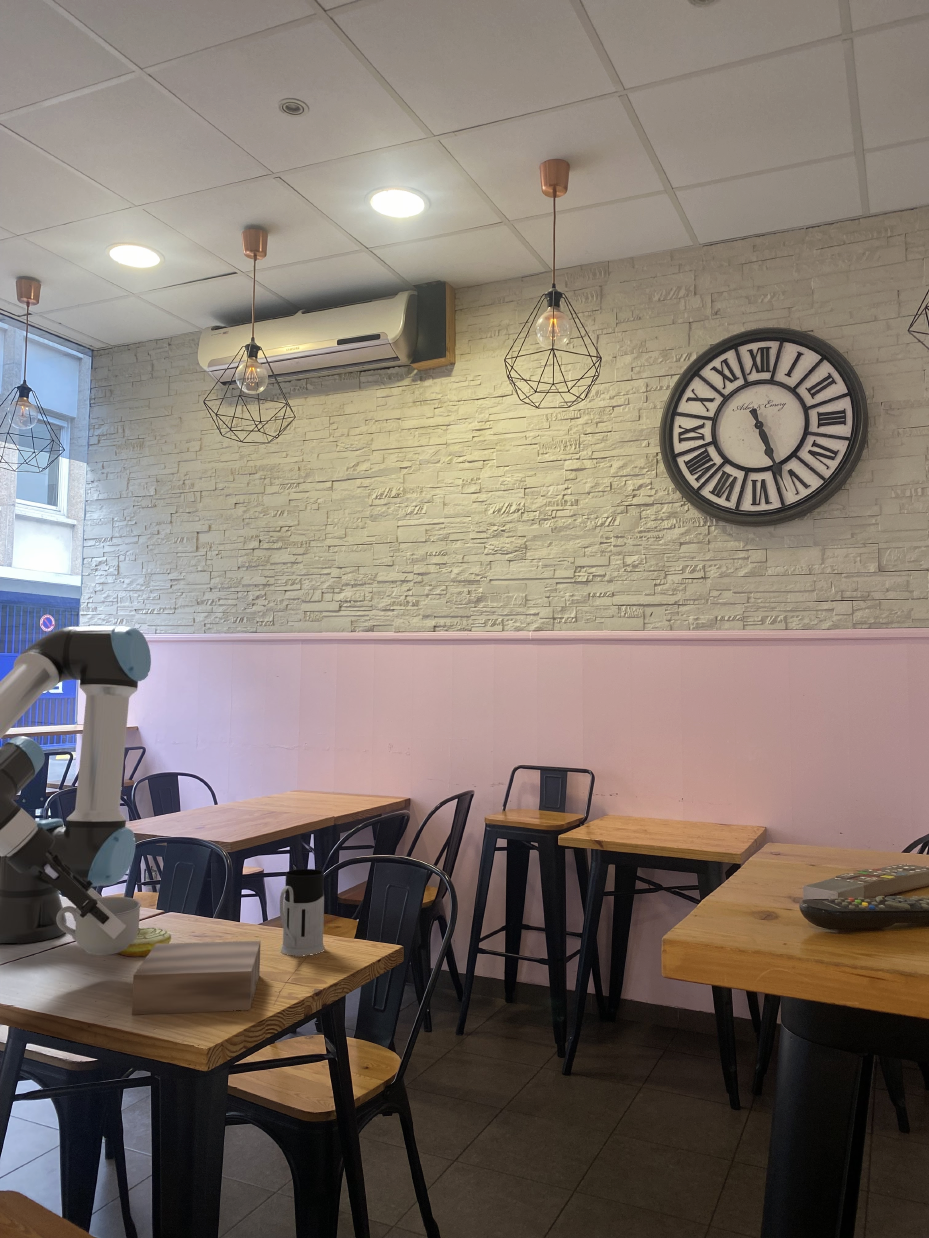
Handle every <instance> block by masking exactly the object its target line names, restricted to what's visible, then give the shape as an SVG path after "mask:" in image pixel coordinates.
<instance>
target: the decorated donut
mask: <svg viewBox="0 0 929 1238" xmlns="http://www.w3.org/2000/svg"><path fill="white" fill-rule="evenodd" d="M171 940H172V934H171V932H169V931H168V930H166V929H163V928H160V927H139V929H138V934H137V937H136V939H135V940H134V941H133V942H132V943H131V944H130V945H129V946H128V947H127V948H126V949H124V950H123V951H121V952H118V953H117V954H119V955H122V956H126V957H147V956H148V954H149V953H150V952H151V950H152V949H153V948H154V946H155V945H156V944H163V943H171Z"/></svg>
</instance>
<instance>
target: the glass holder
mask: <svg viewBox="0 0 929 1238" xmlns="http://www.w3.org/2000/svg"><path fill="white" fill-rule="evenodd" d="M324 873H325V872H324V871H323V870H321V869H316V868H300V869H299V868H297V869H292V870H291V869H290V870H288V871H286V872H285V886H284V887H283V888H282V890H281V892H280V896H279V915H280V916H279V917H280V922H281V926H282V945H281V947H280V950H279V951H281V952H282V953H283V954H282V953H281V952H280V953H281V954H282V955H284V954H288V955H293V956H292V957H304V956H303V955H310V954H316V953H319V952H321V951H323V950H324V949H325V950H326V948H325V945H324V916H325V892H324V880H325V879H324V878H325V877H324V876H325V874H324ZM288 955H287V956H288ZM294 955H295V956H294Z"/></svg>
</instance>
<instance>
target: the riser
mask: <svg viewBox="0 0 929 1238" xmlns="http://www.w3.org/2000/svg"><path fill="white" fill-rule="evenodd" d="M260 965H261V940H244V941H241V940H240V941H239V940H238V941H237V940H236V941H205V942H201V941H200V942H173V943H172V942H169V943H163V944H156V945H155V946H154V948H153V949H152V950H151V952H150V953H149V954H148V956H145V958H144V960H143V962H141V964H140V965H139V967H138V968H137V970H135V972H134V973H133V981H132V982H133V983H132V1001H131V1002H132V1003H131V1015H132V1016H133V1015H135V1016H136V1015H138V1016H139V1015H158V1014H159V1015H160V1014H161V1015H162V1014H163V1015H164V1014H184V1013H186V1014H187V1013H189V1014H190V1013H208V1012H211V1013H212V1012H213V1013H214V1012H236V1010H241V1011H251V1009H252V1005H253V1000H254V997H255V993H256V990H257V986H258V982H259V978H260V972H261V968H260ZM233 1010H234V1011H233Z"/></svg>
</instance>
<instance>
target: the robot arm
mask: <svg viewBox="0 0 929 1238" xmlns="http://www.w3.org/2000/svg"><path fill="white" fill-rule="evenodd" d="M151 655H152V654H151V649H150V646H149V643H148V641H147V638H146V637H145V635H144V634H143V633H142V632H141V630H139V629H137V628H136V627H131V626H121V625H115V626H114V625H113V626H109V625H108V626H107V625H106V626H105V625H104V626H103V625H101V626H97V625H96V626H80V625H79V626H78V625H77V626H68V627H63V628H60V629H57V630H55V631H52V632H50V633H48V634H46V635H44V636H43V637H41V638H39V639H38V640H36V641H35V642H33V643H32V644H30V646H28V647H27V648H26V649H24V651H22V652H21V653H20V654H19V655H18V656H17V657H16V658H15V660H14V662H13V668H12V669H11V670H10V671H9V672H8V673H7V674H6V675H5V676H4V677H2V679H1V680H0V740H1V739H2V738H3V737H4V736H5V735H6V734H7V733H8V731H9V730H10V729H11V728H12V727H13V726H14V725H15V724H16V723H17V721H19V720H20V719H21V717H22V716H23V715H24V714H25V713H26V712H27V711H28V710H29V709H30V708H31V707H32V705H33V704H34V703H35V702H36V701H37V700H38V699H39V698H40V697H41V696H42V694H43V693H44V692H49V691H51V690H53V689H55V688H56V687H57V685H59V684H60V683H62V682H65V681H72V680H73V681H74V680H76V681H79V689H80V690H81V691H82V692H83V693H84V694H85V706H84V717H83V725H82V726H83V727H82V737H81V746H80V747H81V748H80V758H79V765H78V766H79V767H78V776H77V777H78V778H77V786H76V787H77V788H76V798H75V809H74V810H73V812H72V813H71V814H69V816H68V817H66V819H65V820H66V821H65V823H64V821H63V819H62V818H48V819H41V820H40V819H39V820H35V819H34V818H33V817H32V815H30V814H29V813H28V812H27V811H26V810H24V809H23V808H22V807H21V806H20V805H19V804H17V803H16V802H15V801H14V798H15V797H17V795H18V794H19V793H20V792H21V791H22V790H23V789H24V788H25V787H26V786H27V784H29V783H30V781H31V780H33V779H34V778H35V777H36V775H37V773H39V771H40V770H41V768H42V767H43V766H44V763H45V759H46V757H45V752H44V749H43V747H42V746H41V745H40V744H39V743H38V742H37V741H36V740H34V739H32V738H30V737H27V736H20V735H19V736H14V737H13V738H11V739H9V740H8V741H6V742H5V743H4V744H3V746H0V944H1V943H17V944H25V943H26V944H28V943H35V942H37V943H38V942H41V941H42V942H43V941H47V940H51V939H54V938H57V937H60V936H62V935H64V934H65V933H66V932H64V931H63V930H61V929H60V928H59V926H58V925H57V921H56V917H57V914H58V912H59V911H60V910H61V909H62V908H64V907H63V904H62V899H61V895H63V896H64V897H65V898H66V899H67V900H68V901H69V902H71V903H72V904H73V905H74V907H75V908H76V907H77V908H78V909H79V910H80V911H81V914H80V916H81V917H82V918H84V917H85V916H86V915H87V916H88V917H89V918H90V919H91V920H93V921H94V922H95V923H96V924H97V925H98V926H99V927H101V928H102V929H103V930H104V931H105V932H106V933H107V934H109V935H110V936H111V937H112V938H113V939H115V938H116V937H117V936H118V934H119V933H120V932H121V931H122V930H123V929H124V928H125V927H126V925H125V924H124V923H122V922H121V921H120V920H119V919H118V918H117V917H116V916H114V915H113V914H112V913H111V912H110V911H109V910H108V909H107V908H105V907H104V906H103V905H102V904H101V903H100V902H99V901H98V902H97V900H96V899H97V898H104V897H103V896H101V895H100V894H99V892H97V891H96V890H95V889H94V888H93V887H99V886H112V885H115V884H117V883H118V882H120V881H121V880H123V878H124V877H125V875H127V872H128V871H129V869H130V867H131V865H132V862H133V860H134V856H135V851H136V844H137V843H136V837H135V833H134V831H133V830H132V829H131V828H129V827H127V826H126V825H127V818H126V817H125V816H124V814H122V813H121V811H120V808H121V807H120V806H121V796H122V795H121V794H122V782H123V774H124V773H123V772H124V762H125V761H124V760H125V750H126V740H127V727H128V725H127V724H128V715H129V704H130V698H131V696H132V695H133V694H135V693H136V692H137V691H138V687H139V682H141V681H143V680H146V679H147V677H148V676H149V673H150V671H151V665H152V657H151ZM64 824H65V825H64ZM60 893H61V895H60ZM86 901H88V902H87V903H86V904H85V905H84V906H83V904H84V903H85V902H86ZM63 921H64V923H65V924H66V925H68V924H67V917H66V913H64V915H63Z"/></svg>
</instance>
